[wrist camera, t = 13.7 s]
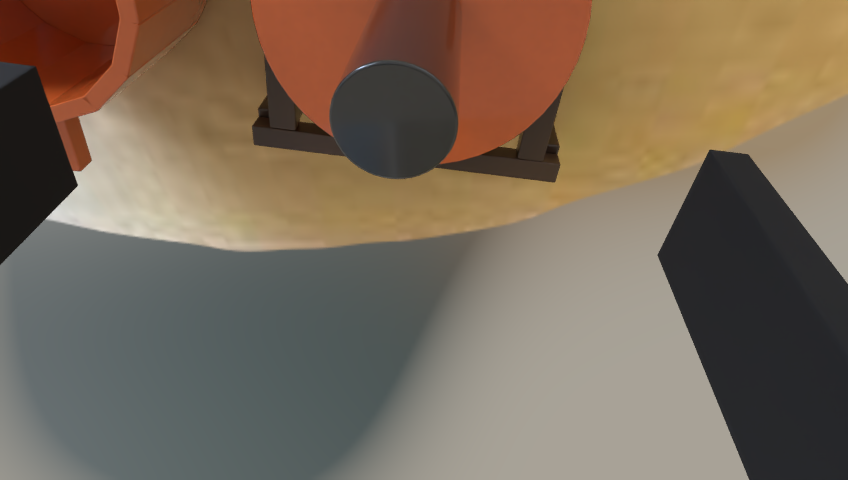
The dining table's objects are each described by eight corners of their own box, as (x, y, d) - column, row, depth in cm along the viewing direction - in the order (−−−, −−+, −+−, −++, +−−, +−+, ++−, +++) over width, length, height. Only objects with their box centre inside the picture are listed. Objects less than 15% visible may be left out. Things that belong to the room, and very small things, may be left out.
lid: (270, 133, 25) (183, 278, 17) (242, -224, 17) (64, -242, 10) (542, 167, 25) (573, 326, 18) (636, -171, 17) (765, -148, 10)
